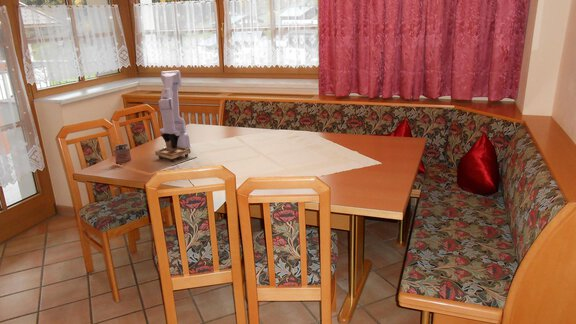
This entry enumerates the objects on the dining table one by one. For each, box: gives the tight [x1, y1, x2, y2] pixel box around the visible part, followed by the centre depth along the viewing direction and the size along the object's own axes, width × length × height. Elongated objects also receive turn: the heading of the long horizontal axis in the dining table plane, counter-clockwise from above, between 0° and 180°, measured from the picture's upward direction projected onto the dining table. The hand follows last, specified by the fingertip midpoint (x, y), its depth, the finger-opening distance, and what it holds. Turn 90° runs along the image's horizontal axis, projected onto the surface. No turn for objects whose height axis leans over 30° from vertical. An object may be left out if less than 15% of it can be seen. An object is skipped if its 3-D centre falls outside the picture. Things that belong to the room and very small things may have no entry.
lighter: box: [113, 143, 132, 165], centre depth 230 cm, size 8×3×10 cm, turn 105°
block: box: [165, 140, 178, 152], centre depth 229 cm, size 4×4×5 cm
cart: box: [154, 146, 192, 162], centre depth 230 cm, size 12×14×4 cm
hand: (172, 147), depth 229 cm, fingers open, 4 cm apart
